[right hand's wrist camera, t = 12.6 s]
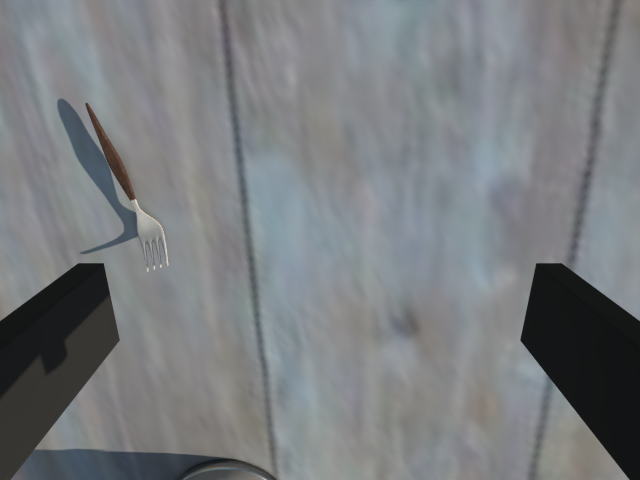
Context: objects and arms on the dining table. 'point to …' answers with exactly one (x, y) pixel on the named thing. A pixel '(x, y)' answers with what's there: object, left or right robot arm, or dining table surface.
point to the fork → (131, 196)
